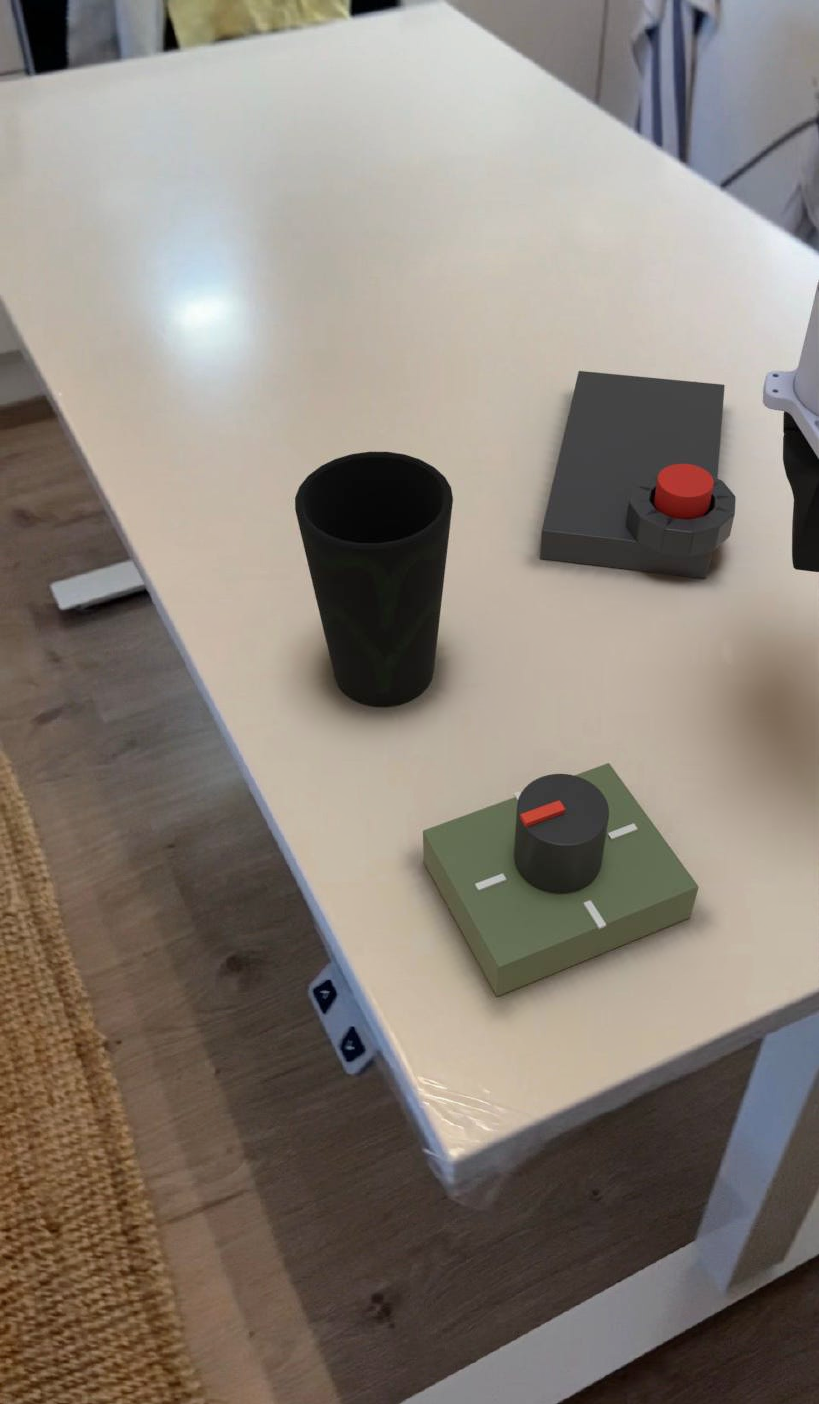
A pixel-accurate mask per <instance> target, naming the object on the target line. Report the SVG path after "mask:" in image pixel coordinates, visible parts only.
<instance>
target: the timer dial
mask: <svg viewBox="0 0 819 1404" xmlns="http://www.w3.org/2000/svg"><path fill="white" fill-rule="evenodd" d="M574 775H575V774H570V773H569V774H568V773H552V774H546V775H543V776H540V777H538V778H536V779H534V780H532V781H530V783H529V784H527V785H526V786H525V787H524V788H523V789H522V791H521V794H520V796H519V799H518V802H517V813H516V828H515V843H514V861H515V864H516V867H517V869H518V871H519V872H520V874H521V875H522V876H523V878H524V879H525V880H526V881H528V882H529V883H530V884H532V885H533V886H535V887H537V888H539V889H541V890H544V891H548V892H553V893H569V892H574V891H577V890H580V889H582V888H584V887H585V886H587V885H588V884H590V883H591V882H592V881H593V880H594V879H595V878H596V876H597V875H598V873H599V871H600V868H601V865H602V858H603V852H604V846H605V839H606V833H607V827H608V820H609V806H608V803H607V800H606V798H605V797H604V795H603V794H602V792H601V791H600V790H599V789H598V788H597V787H596V786H595V785H593V784H592V783H591V782H589V781H587V780H585V779H583V778H581V777H578V776H574Z"/></svg>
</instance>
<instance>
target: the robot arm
mask: <svg viewBox="0 0 819 1404" xmlns="http://www.w3.org/2000/svg"><path fill="white" fill-rule="evenodd" d="M809 315H810V316H809V319H808V323H807V326H806V327H807V328H806V332H805V335H804V340H803V344H802V348H801V353H800V356H799V360H798V365H797V366H796V369H793V370H789V371H786V370H785V371H784V370H772V371H769V372H767V373H766V375H765V379H764V382H763V388H762V404H763V405H764V407H766V408H767V409H769V410H773V411H778V412H779V411H781V412H783V414H782V415H783V422H782V423H783V424H782V427H783V428H782V432H783V436H782V463H783V468H784V472H785V476H786V478H787V481H788V483H789V486H790V489H791V492H792V496H793V507H792V521H791V522H792V523H791V561H792V567H793V569H795V570H796V571H797V570H798V571H805V572H813V573H819V280H818V282H817V285H816V289H815V293H814V298H813V302H812V305H811V311H810V314H809Z"/></svg>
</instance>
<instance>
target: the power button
mask: <svg viewBox="0 0 819 1404" xmlns="http://www.w3.org/2000/svg"><path fill="white" fill-rule="evenodd" d="M713 485H714V481H713V478H712V476H711V475H710V474H709V473H708V472H707V471H706V470H704V469H703V468H700V467H698V466H695V465H690V464H675V465H671V466H668V467H666V468H664V469H663V470H662V471H661V472H660V473H659V475H658V479H657V485H656V492H655V498H654V504H655V507H656V509H657V510H658V511H659V512H661V513H663V514H665V515H667V516H669V517H671V518H678V519H687V520H690V519H694V518H698V517H702V516H704V515H705V514H706V513H707V511H708V509H709V505H710V500H711V495H712V490H713Z"/></svg>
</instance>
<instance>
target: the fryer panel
mask: <svg viewBox="0 0 819 1404" xmlns="http://www.w3.org/2000/svg"><path fill="white" fill-rule="evenodd" d="M573 775H574V776H578V777H581V778H583V779H585V780H587V781H589V782H591V783H592V784H593V785H595V786H596V787H597V788H598V789H599V790H600V791H601V792H602V794H603V795H604V797H605V798H606V800H607V803H608V806H609V820H608V827H607V833H606V839H605V846H604V852H603V858H602V865H601V868H600V871H599V873H598V875H597V876H596V878H595V879H594V880H593V881H592V882H591V883H590V884H588V885H587V886H585V887H584V888H582V889H580V890H577V891H574V892H569V893H553V892H548V891H544V890H541V889H539V888H537V887H535V886H533V885H532V884H530V883H529V882H528V881H526V880H525V879H524V878H523V876H522V875H521V874H520V872H519V871H518V869H517V867H516V864H515V861H514V843H515V828H516V813H517V802H518V799H519V796H520V794H521V792H522V791H521V790H519V791H516V792H514V793H513V796H514V797H511V798H509V799H506V800H503V801H500V802H497V803H495V804H493V805H490V806H486V807H484V808H481V809H479V810H476V811H473V812H470V813H467V814H465V815H461V816H459V817H456V818H454V819H452V820H448V821H445V822H443V823H440V824H437V825H435V826H432V827H429V828H426V829H424V830H422V847H423V848H422V852H423V853H422V854H423V856H422V857H423V863H424V866H425V867H426V869H427V871H428V873H429V875H430V876H431V878H432V880H433V882H434V883H435V886H436V888H437V889H438V891H439V893H440V895H441V897H442V899H443V900H444V902H445V905H446V906H447V908H448V910H449V911H450V913H451V916H452V917H453V919H454V921H455V923H456V924H457V927H458V929H459V930H460V932H461V934H462V936H463V937H464V939H465V942H466V943H467V944H468V947H469V948H470V951H471V953H472V954H473V956H474V958H475V959H476V961H477V963H478V965H479V967H480V969H481V971H482V972H483V974H484V976H485V978H486V979H487V981H488V983H489V985H490V987H491V990H492V991H493V992H494V994H495V996H496V997H499V996H502V995H505V994H507V993H509V992H512V991H514V990H517V989H519V988H521V987H524V986H527V985H530V984H531V983H534V982H536V981H539V980H541V979H544V978H546V977H548V976H551V975H553V974H556V973H559V972H561V971H563V970H565V969H567V968H570V967H573V966H576V965H577V964H580V963H583V962H584V961H587V960H591V959H592V958H595V957H598V956H600V955H602V954H604V953H607V952H609V951H612V950H615V949H616V948H619V947H622V946H623V945H627V944H628V943H631V942H634V941H636V940H639V939H641V938H643V937H646V936H648V935H650V934H653V933H655V932H658V931H660V930H663V929H665V928H668V927H670V926H672V925H675V924H677V923H680V922H682V921H684V920H688V919H689V918H691V917H692V914H693V910H694V906H695V903H696V900H697V895H698V891H699V885H698V883H697V882H696V880H695V879H694V878H693V876H692V875H691V874H690V873H689V871H688V870H687V868H686V867H685V865H684V864H683V863H682V862H681V860H680V858H679V857H678V856H677V854H676V853H675V852H674V850H673V849H672V848H671V847H670V845H669V843H668V842H667V841H666V839H665V838H664V837H663V835H662V834H661V832H660V831H659V830H658V828H657V827H656V825H655V824H654V823H653V821H652V820H651V818H650V817H649V815H648V814H647V813H646V812H645V810H644V809H643V808H642V806H641V804H640V803H639V802H638V801H637V799H636V798H635V796H634V795H633V794H632V792H631V791H630V790H629V789H628V787H627V786H626V784H625V782H623V780H622V779H621V777H620V776H619V774H618V773H617V772H616V770H615V769H614V768H613V766H612V765H611V764H610V763H609V762H607V763H605V764H602V765H599V766H596V767H593V768H591V769H588V770H585V771H582V772H580V773H577V774H573Z"/></svg>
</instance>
